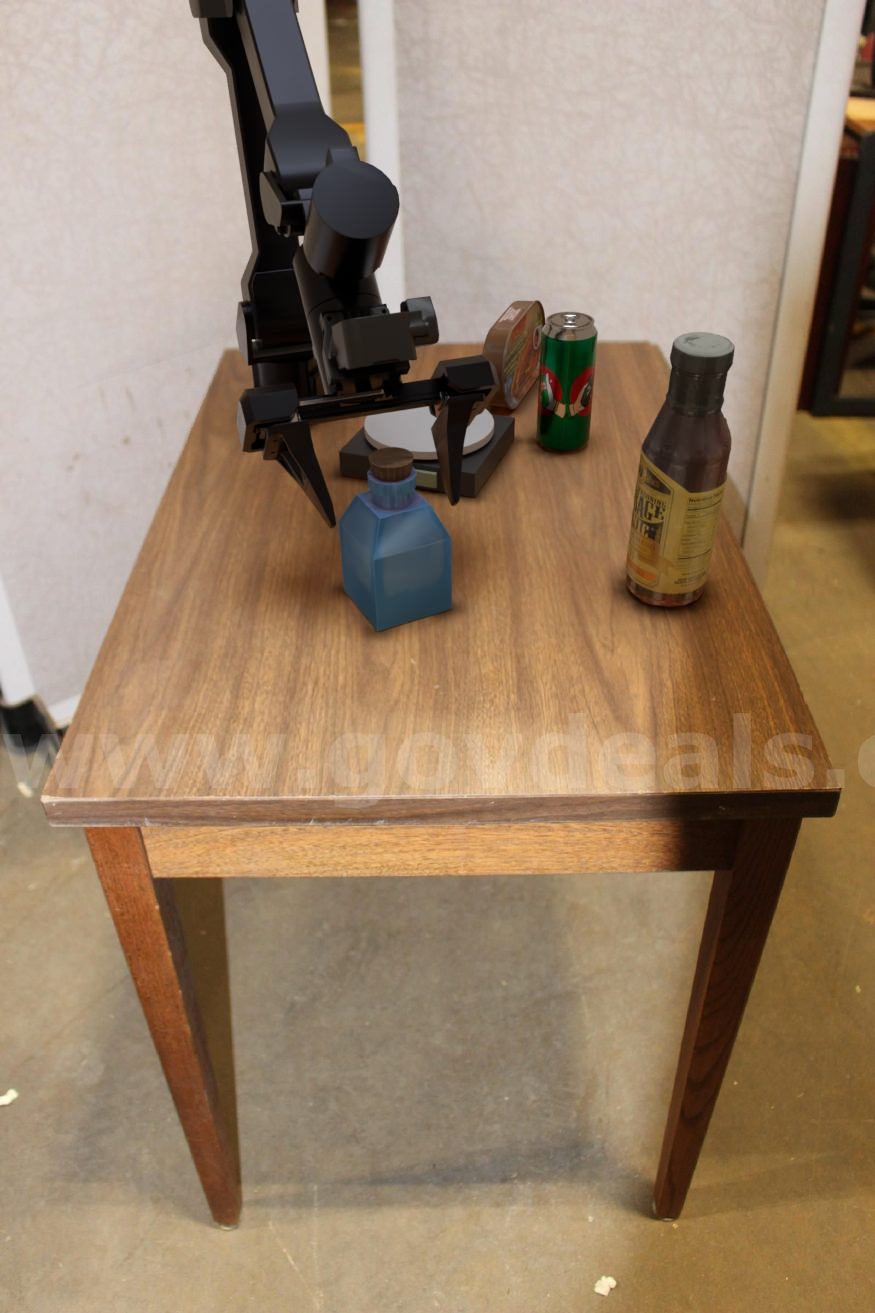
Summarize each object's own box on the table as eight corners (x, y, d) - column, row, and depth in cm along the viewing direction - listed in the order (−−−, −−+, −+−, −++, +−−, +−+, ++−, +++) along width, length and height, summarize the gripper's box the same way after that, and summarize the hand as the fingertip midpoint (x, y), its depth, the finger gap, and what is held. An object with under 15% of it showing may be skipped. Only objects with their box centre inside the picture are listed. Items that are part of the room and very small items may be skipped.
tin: (506, 422, 106) (508, 340, 101) (476, 418, 107) (476, 336, 102) (547, 366, 117) (551, 289, 112) (519, 363, 118) (522, 286, 113)
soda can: (588, 431, 104) (598, 310, 97) (589, 455, 100) (599, 330, 93) (536, 430, 105) (542, 308, 97) (535, 453, 101) (541, 329, 93)
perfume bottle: (377, 631, 78) (369, 486, 71) (343, 590, 83) (332, 449, 75) (452, 608, 80) (451, 465, 73) (415, 569, 85) (411, 430, 78)
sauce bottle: (615, 569, 85) (642, 323, 72) (692, 565, 85) (732, 319, 73) (634, 617, 79) (666, 360, 67) (716, 612, 80) (763, 356, 68)
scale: (338, 476, 97) (335, 440, 95) (390, 421, 107) (388, 387, 104) (473, 499, 94) (473, 462, 92) (514, 440, 103) (515, 405, 101)
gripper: (221, 272, 68) (276, 503, 67) (493, 240, 73) (550, 455, 71) (217, 348, 79) (264, 549, 77) (454, 316, 84) (503, 505, 82)
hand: (395, 515), depth 77 cm, fingers open, 9 cm apart
